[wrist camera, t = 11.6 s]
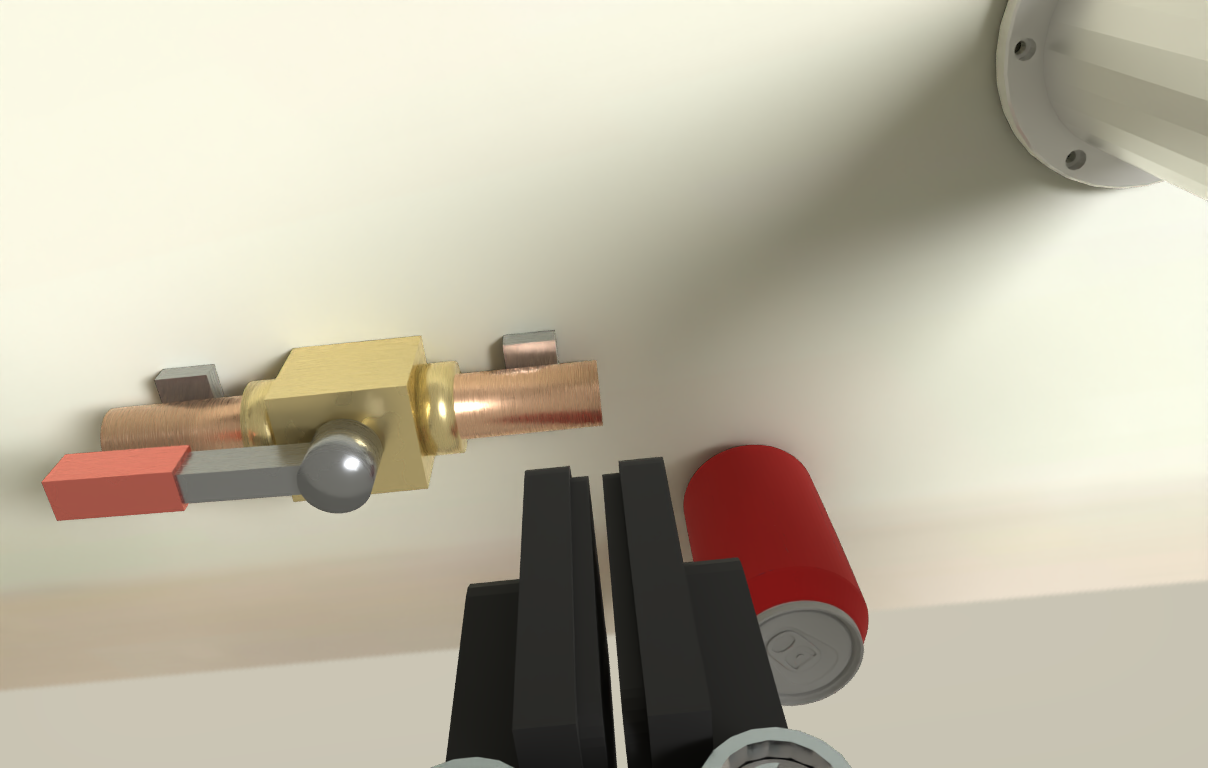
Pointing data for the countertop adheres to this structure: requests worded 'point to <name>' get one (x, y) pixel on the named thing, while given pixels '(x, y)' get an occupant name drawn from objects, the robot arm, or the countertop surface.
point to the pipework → (369, 403)
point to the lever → (218, 475)
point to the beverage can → (782, 565)
